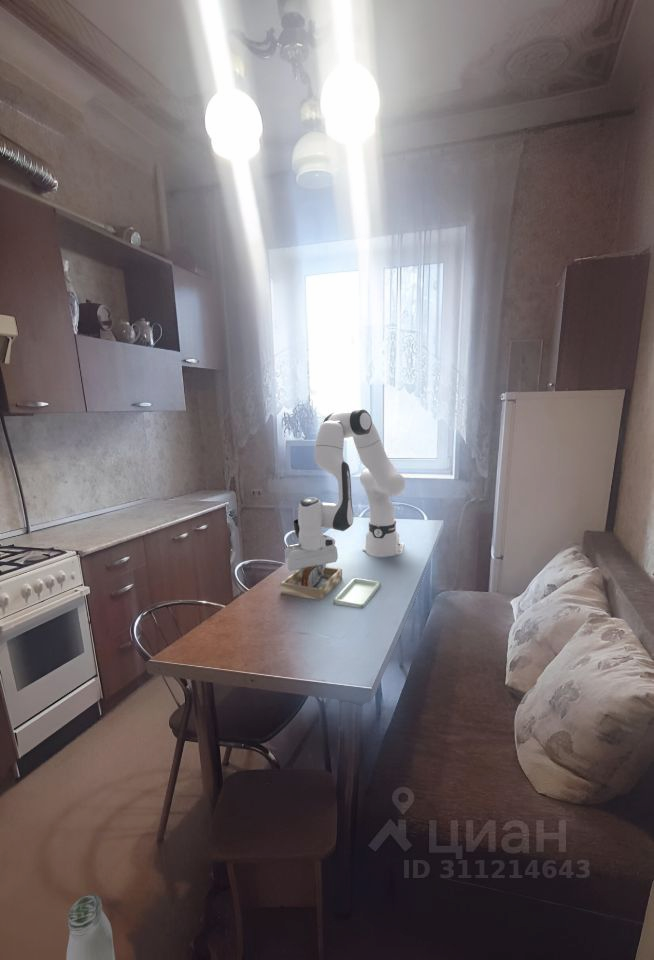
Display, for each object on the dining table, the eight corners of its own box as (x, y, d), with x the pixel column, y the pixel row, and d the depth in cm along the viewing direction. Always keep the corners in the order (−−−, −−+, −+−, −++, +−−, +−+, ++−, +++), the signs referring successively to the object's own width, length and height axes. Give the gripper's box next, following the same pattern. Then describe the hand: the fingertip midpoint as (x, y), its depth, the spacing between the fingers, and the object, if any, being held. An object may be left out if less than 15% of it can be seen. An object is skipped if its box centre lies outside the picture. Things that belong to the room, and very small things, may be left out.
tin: (316, 577, 172) (315, 557, 170) (323, 578, 171) (323, 558, 169) (300, 593, 158) (299, 571, 157) (308, 594, 157) (307, 572, 156)
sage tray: (353, 583, 166) (353, 577, 166) (380, 587, 162) (380, 581, 161) (333, 605, 148) (333, 599, 148) (362, 611, 144) (362, 604, 144)
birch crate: (305, 573, 177) (305, 563, 176) (342, 578, 170) (342, 569, 170) (280, 593, 159) (280, 583, 158) (320, 600, 152) (320, 589, 152)
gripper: (287, 548, 154) (289, 585, 157) (339, 539, 163) (339, 574, 165) (281, 543, 160) (283, 579, 163) (331, 535, 168) (332, 568, 171)
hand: (312, 576), depth 164 cm, fingers closed on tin, 5 cm apart
